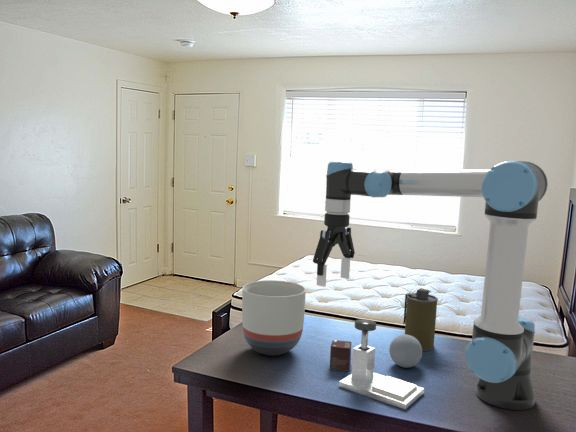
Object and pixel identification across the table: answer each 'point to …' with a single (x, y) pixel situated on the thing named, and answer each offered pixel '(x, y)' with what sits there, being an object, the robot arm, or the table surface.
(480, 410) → the table surface
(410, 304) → the canister
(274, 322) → the planter
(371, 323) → the plunger
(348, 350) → the box
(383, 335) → the table surface
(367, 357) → the press
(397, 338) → the decorative stone
